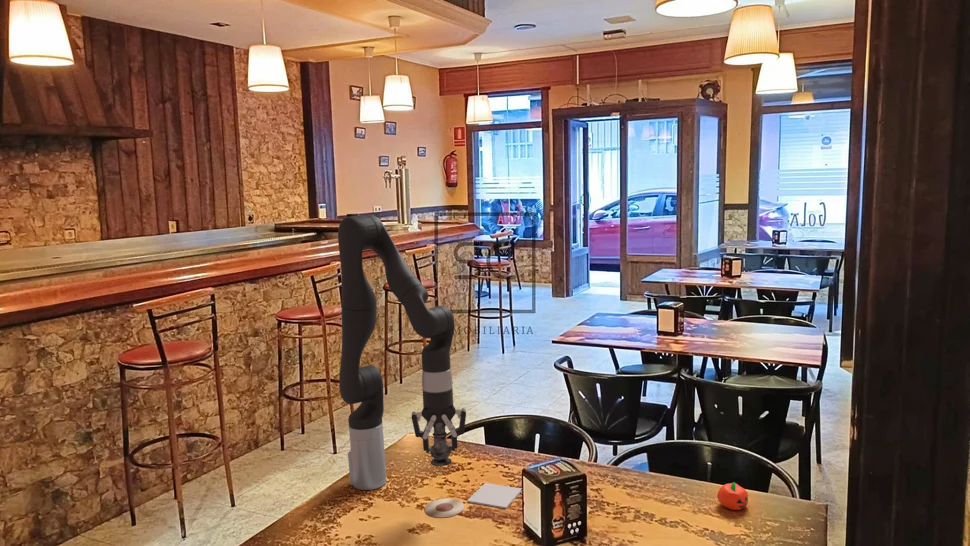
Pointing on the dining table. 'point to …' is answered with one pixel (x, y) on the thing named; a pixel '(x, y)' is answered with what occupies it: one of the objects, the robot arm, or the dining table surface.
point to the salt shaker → (440, 447)
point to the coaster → (444, 508)
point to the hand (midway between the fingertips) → (440, 450)
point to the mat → (495, 495)
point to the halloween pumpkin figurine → (733, 496)
